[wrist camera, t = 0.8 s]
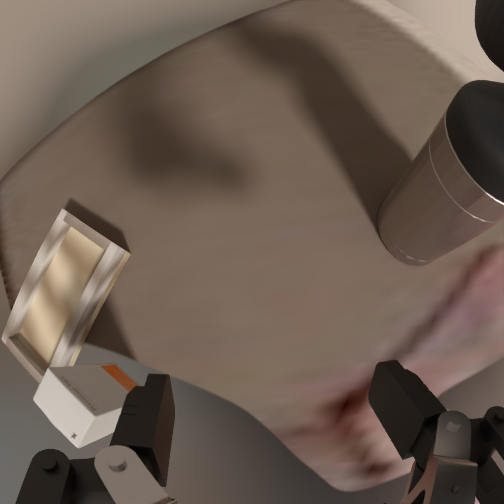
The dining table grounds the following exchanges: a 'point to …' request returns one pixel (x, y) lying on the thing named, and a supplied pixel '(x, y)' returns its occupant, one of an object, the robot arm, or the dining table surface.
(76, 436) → the skincare box
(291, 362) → the dining table surface
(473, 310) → the dining table surface
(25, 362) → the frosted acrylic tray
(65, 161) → the dining table surface
